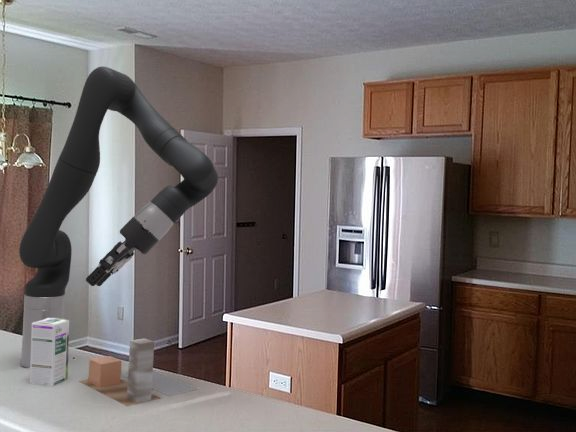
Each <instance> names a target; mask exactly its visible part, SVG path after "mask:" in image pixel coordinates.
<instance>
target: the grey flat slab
mask: <svg viewBox="0 0 576 432" xmlns="http://www.w3.org/2000/svg"><path fill="white" fill-rule="evenodd" d="M121 376H124V377H126V378H127V379H128V371H126V372H121ZM152 390H154V391H155V392H156V391H157V392H159V393H161V394H163V395H166V396H168V397H173V396H176V395H179V394H181V395H182V394H185V393H189V392H193V391H197V390H199V388H198V387H196V386H193V385H191V384H188V383H186V382H184V381H181V380H180V379H179V380H178V379H176V378H174V377H171V376H170V375H166V374H164V373H161V372H160V371H157V370H154V369H153V376H152Z"/></svg>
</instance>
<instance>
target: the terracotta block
mask: <svg viewBox="0 0 576 432" xmlns="http://www.w3.org/2000/svg"><path fill="white" fill-rule="evenodd" d="M88 362H89V363H88V382H90V383H92V384H94V385H96V386H98V387H104V386H109V385H114V384H118V383H120V381H121V380H122V379H121V378H122V377H121V376H122V375H121V373H122V360H121V359H119V358H115V357H114V356H111V355H108V356H101V357H94V358H89V361H88Z"/></svg>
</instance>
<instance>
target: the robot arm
mask: <svg viewBox="0 0 576 432" xmlns="http://www.w3.org/2000/svg"><path fill="white" fill-rule="evenodd" d="M109 110H110V111H113V112H117V113H119V114H121V116H123V117H125V118H126V119H128V120H129V121H130V122H132V124H134V126H135V127H137V129H138V131H139V133H140V134H141V136H142V139H143V141H144V142H145V144H147V146H148V147H149V148H150V149H151V150H152V151H153V152H154V153H155V155H157V156H158V157H159V158H160V159H161V160H162V161H163V162H164V163H166V164H167V165H168V166H171V167H173V168H174V169H175V170H176V171H177V172H178V173H179V175H181V177H182V178H183V180H181V182H179V183H177V184H176V185H175V186H173V185H166V186H165V187H163V188H162V189H161V190H160V191H159V192H158V193H157V194H156V195H155V196H154V197H153V198H152V199H151V200H150V201H149V202H148V203H147V204H146V205H144V206H143V207H141V209H139V210H138V212H137V213H136V214H134V215H133V216H132V218H131V219H129V220H128V222H126V224H124V225H123V226H122V228H121V229H120V230H119V234H120V235H121V236H122V237H123V238H124V239H125V240H124V241H121V240H120V241H118V242H117V243H116V244H115V245H114V246H113V247H112V248H111V249H110V250H109V251H108V252H107V253H106V254H105V256H103V257H102V259H100V260H99V262H98V264H97V266H96V267H95V269H94V270H93V271H91V273H90V274H89V275H88V276H87V277H86V278H85V282H87V283H88V284H89V285H90V286H92V287H94V286H97V287H102V285H103V284H104V283H105V282H107V280H108V279H109V278H110V277H111V276H112V275H115V274H116V273H117V272H119V270H121V269H122V268H123V267H124V266H125V265H126V264H127V263H128V262H129V261H130V260H131V259H132V258H133V256H134V255H135V252H134V251H135V250H138V251H139V252H140V253H141V254H142V255H146V254H148V253H149V252H150V251H151V250H152V249H153V248H154V246H155V245H157V243H159V241H161V239H163V237H164V236H166V234H167V233H168V232H169V231H170V229H172V227H173V225H174V224H175V223H177V221H178V220H180V218H181V217H182V216H183V215H184V214H185V213H186V212H187V211H188V210H189V209H190V208H192V207H195V205H197V204H198V203H200V202H202V201H203V200H204V199H205V198H207V197H208V196H209V195H210V194H212V192H213V191H214V190H215V188H216V187H217V185H218V181H219V176H218V172H217V170H216V168H215V166H214V164H213V162H212V160H211V159H210V157H209V156H208V155H207V154H206V153H205V152H203V151H202V150H201V149H199V148H198V147H197V146H196V145H194V144H192V143H191V142H189V141H188V140H187V139H186V137H184V135H182V133H180V132H179V131H178V130H177V129H176V128H175V127H174V126H172V125H171V124H170V123H169V122H168V121H167V120H166V119H165V118H164V117H163V116H162V115H161V114H160V113H159V112H158V111H157V110H156V109H155V107H153V105H152V104H151V103H150V102H149V101H148V99H147V98H146V97H145V95H144V94H143V92H142V91H141V90H140V88H139V87H138V85H137V84H136V83H135V81H134V80H133V79H132V78H130V76H128V75H127V74H125V73H122V72H120V71H118V70H115V69H113V68H110V67H108V66H103V65H102V66H97V67H96V68H95V69H93V70H92V71H90V73H89V75H88V76H87V77H86V80H85V82H84V85H83V88H82V91H81V94H80V98H79V102H78V105H77V109H76V112H75V115H74V119H73V121H72V123H71V127H70V129H69V132H68V135H67V138H66V139H65V143H64V146H63V148H62V149H61V150H62V151H61V152H60V155H59V157H58V159H57V162H56V163H55V164H56V165H55V167H54V168H53V172H52V174H51V177H50V180H49V182H48V185H47V187H46V188H45V192H44V194H43V196H42V199H41V201H40V203H39V205H38V207H37V210H36V212H35V213H34V215H33V216H32V219H31V221H30V223H29V224H28V226H27V228H26V230H25V232H24V233H23V236H22V237H21V240H20V243H19V250H18V251H19V253H18V254H19V257H20V260H21V262H22V263H23V265H25V266H26V268H27V267H28V268H31V269H37V272H36V273H35V275H34V276H33V278H31V279H30V280H28V281H27V282H26V283H25V284H24V295H23V297H24V299H23V323H22V343H21V344H22V345H21V360H20V361H21V362H20V364H21V367H23V368H27V369H28V368H29V369H30V360H31V329H32V323H33V322H37V321H40V320H44V319H46V318H61V319H65V318H64V317H65V300H66V299H65V296H66V288H67V286H68V284H69V281H70V280H69V279H70V275H71V274H70V273H71V264H72V263H71V262H72V242H71V239H70V237H69V235H68V234H67V233H66V232H65V231H63V230H60V228H61V226H62V224H63V223H64V221H65V219H66V218H67V216H68V215H69V214H70V213H71V212H72V211H73V209H74V208H75V207H76V206H77V205H78V204H80V202H81V201H82V200H83V199H84V197H85V196H86V195H88V193H89V191H90V189H91V187H92V185H93V183H94V181H95V178H96V176H97V173H98V171H99V168H100V164H101V150H100V149H101V148H100V147H101V146H100V131H101V126H102V123H103V121H104V119H105V115H106V113H107V112H108V111H109Z"/></svg>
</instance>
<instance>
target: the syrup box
mask: <svg viewBox="0 0 576 432" xmlns="http://www.w3.org/2000/svg"><path fill="white" fill-rule="evenodd" d="M69 340H70V319H66V318H64V319H61V318H46V319H44V320H40V321H37V322H33V323H32V329H31V360H30V368H29V370H30V371H29V384H32V385H33V384H34V385H42V386H48V387H53V386H56V385H57V384H60V383H62V382H65V381H66V380H68V373H69V371H68V369H69V347H70V345H69V342H70V341H69Z"/></svg>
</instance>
